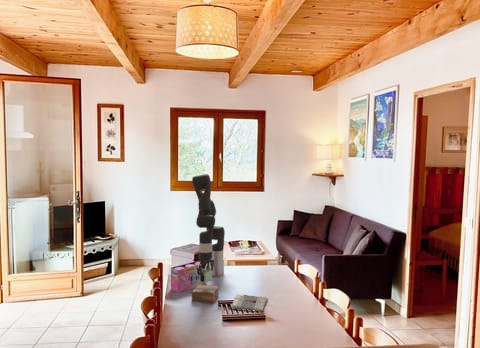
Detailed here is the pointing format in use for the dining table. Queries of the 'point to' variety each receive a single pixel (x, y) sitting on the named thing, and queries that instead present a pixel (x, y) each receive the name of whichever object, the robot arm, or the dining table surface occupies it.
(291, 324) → the dining table surface
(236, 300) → the dish towel
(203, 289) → the walnut base
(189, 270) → the gum box
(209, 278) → the sage block
